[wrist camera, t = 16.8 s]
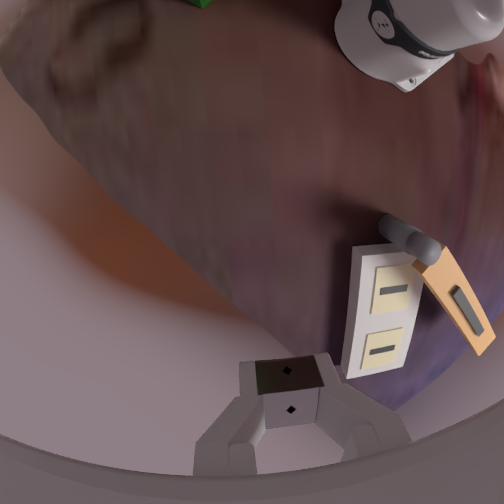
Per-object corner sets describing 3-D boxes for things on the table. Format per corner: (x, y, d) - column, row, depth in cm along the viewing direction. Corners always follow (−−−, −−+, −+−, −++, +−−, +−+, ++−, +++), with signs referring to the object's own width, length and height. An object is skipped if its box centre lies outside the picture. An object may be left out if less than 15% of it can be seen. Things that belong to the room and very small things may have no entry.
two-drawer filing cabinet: (353, 215, 42) (377, 231, 35) (418, 213, 43) (448, 227, 35) (340, 365, 52) (353, 395, 45) (394, 354, 53) (411, 380, 45)
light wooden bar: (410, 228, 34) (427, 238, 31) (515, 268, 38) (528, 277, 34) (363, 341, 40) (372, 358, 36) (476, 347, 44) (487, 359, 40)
